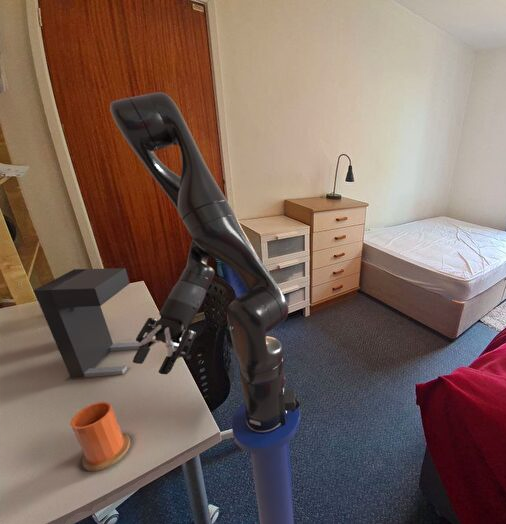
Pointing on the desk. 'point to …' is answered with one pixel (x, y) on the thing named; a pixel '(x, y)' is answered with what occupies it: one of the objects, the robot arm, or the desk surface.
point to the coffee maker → (83, 318)
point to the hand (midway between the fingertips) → (149, 368)
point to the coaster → (111, 461)
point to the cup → (98, 432)
